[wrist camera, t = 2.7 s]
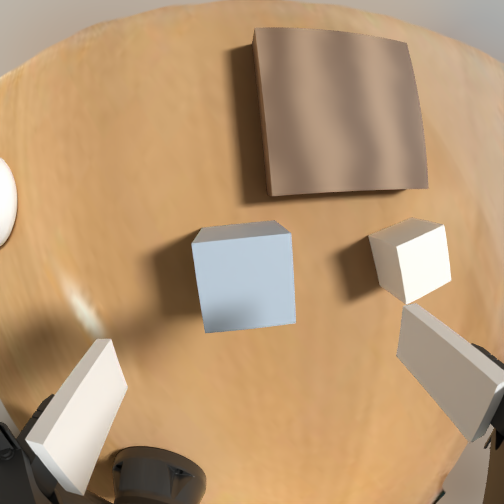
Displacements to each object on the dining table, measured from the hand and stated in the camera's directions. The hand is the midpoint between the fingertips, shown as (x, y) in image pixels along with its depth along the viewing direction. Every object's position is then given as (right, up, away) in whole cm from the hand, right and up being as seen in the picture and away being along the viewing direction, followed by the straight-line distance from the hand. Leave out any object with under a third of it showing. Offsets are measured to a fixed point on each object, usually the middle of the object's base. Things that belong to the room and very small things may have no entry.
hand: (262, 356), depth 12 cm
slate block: (-1, +4, +17) cm, 18 cm away
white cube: (+16, +4, +18) cm, 25 cm away
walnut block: (+8, +18, +15) cm, 25 cm away
